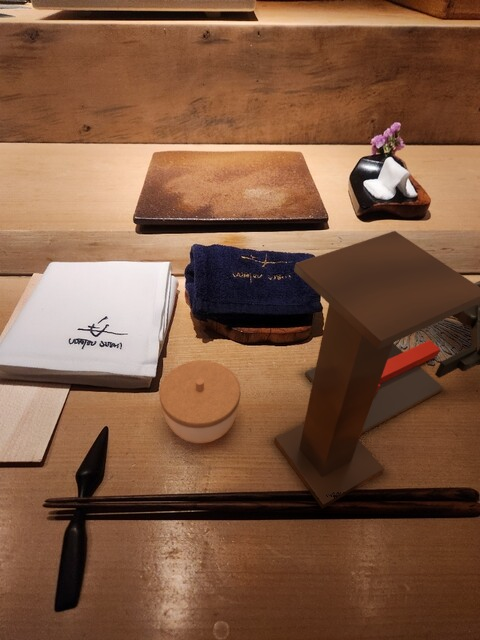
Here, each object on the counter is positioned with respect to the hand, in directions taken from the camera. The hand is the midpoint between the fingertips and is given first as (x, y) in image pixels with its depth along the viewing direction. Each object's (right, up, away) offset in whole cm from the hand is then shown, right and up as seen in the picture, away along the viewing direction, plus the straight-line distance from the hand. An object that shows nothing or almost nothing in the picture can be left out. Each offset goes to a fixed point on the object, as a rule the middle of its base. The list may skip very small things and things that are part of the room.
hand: (404, 340), depth 69 cm
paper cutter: (-4, -7, +3) cm, 9 cm away
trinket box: (-30, -12, -3) cm, 33 cm away
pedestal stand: (-12, -15, -6) cm, 20 cm away
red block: (0, -5, +4) cm, 7 cm away
